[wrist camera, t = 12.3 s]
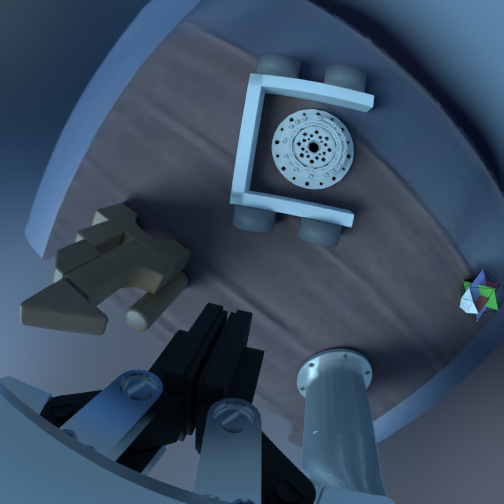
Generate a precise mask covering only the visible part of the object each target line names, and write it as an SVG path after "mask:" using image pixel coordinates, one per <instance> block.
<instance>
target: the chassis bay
mask: <svg viewBox="0 0 504 504" xmlns="http://www.w3.org/2000/svg"><path fill="white" fill-rule="evenodd" d="M299 70H300V62H299V60H297V59H296V58H294V57H291V56H288V55H285V54H279V53H266V54H262V55H260V56H259V59H258V65H257V71H256V74H252V73H250V78H249V84H248V90H247V95H246V101H245V107H244V113H243V119H242V125H241V131H240V138H239V144H238V150H237V157H236V163H235V170H234V177H233V183H232V190H231V197H230V203H231V204H235V208H234V215H233V222H232V225H233V226H235V227H236V228H239V229H242V230H246V231H251V232H258V233H268V232H272V231H273V228H274V222H275V216H276V212H280V213H285V214H290V215H295V216H300V217H301V220H300V225H299V230H298V235H297V236H298V237H299V238H300V239H302V240H304V241H306V242H309V243H312V244H316V245H320V246H328V247H334V246H337V245H338V241H339V237H340V232H341V228H342V225H343V226H347V227H352V223H353V218H354V214H353V213H352V212H351V211H350V210H346V209H341V208H337V207H332V206H328V205H323V204H318V203H314V202H309V201H304V200H299V199H294V198H289V197H283V196H278V195H273V194H267V193H261V192H256V191H250V183H251V177H252V170H253V164H254V158H255V151H256V145H257V139H258V133H259V127H260V120H261V114H262V108H263V102H264V96H265V93H268V94H276V95H283V96H290V97H296V98H302V99H308V100H314V101H319V102H324V103H329V104H333V105H338V106H342V107H347V108H351V109H355V110H359V111H363V112H368V111H369V110H370V109H371V108H372V107H373V102H374V96H373V95H370V94H366V93H365V87H366V77H367V75H366V74H365V73H364V72H363V71H362V70H360V69H358V68H355V67H352V66H348V65H343V64H332V65H328V66H326V68H325V75H324V83H318V82H313V81H307V80H301V79H298V77H299Z"/></svg>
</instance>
